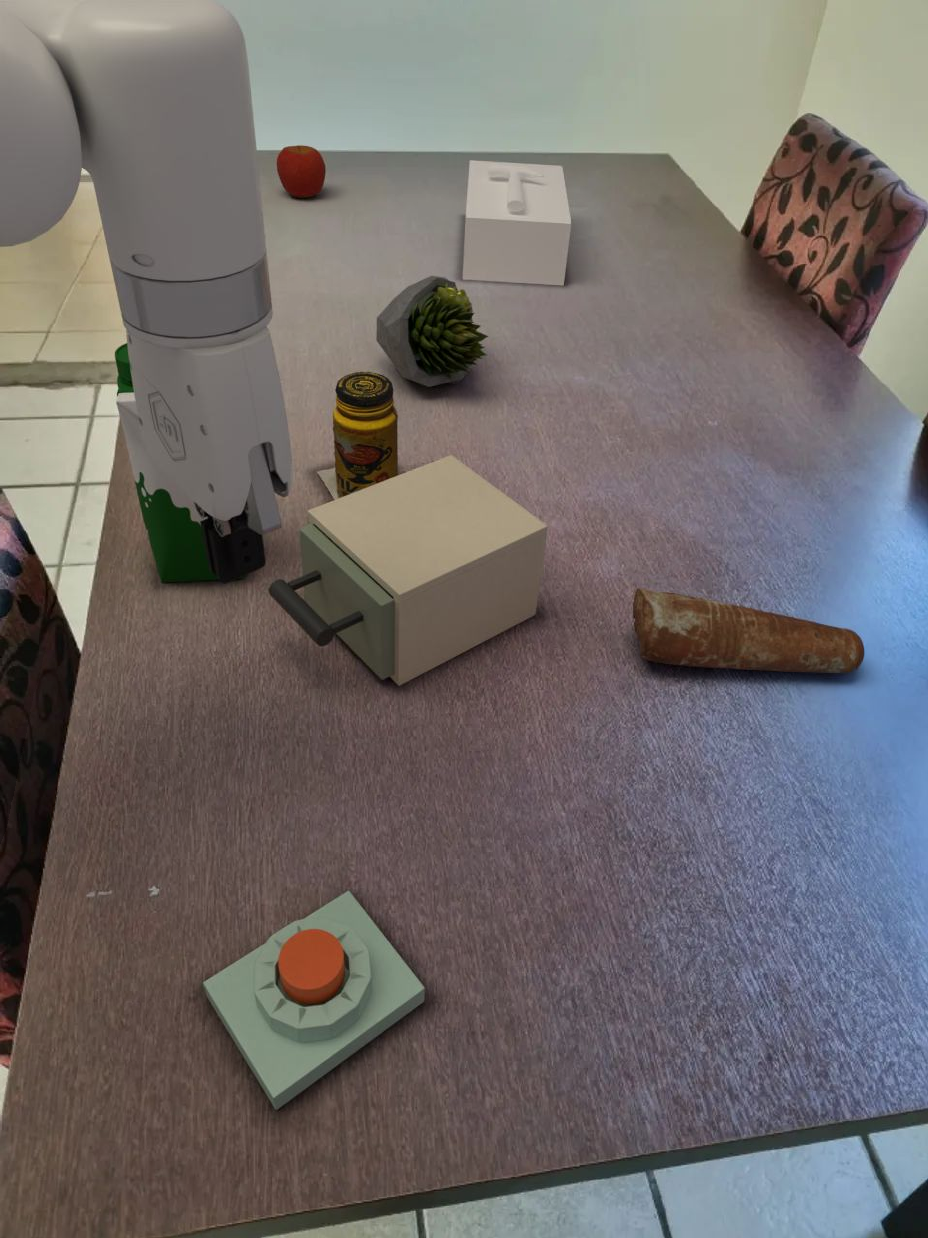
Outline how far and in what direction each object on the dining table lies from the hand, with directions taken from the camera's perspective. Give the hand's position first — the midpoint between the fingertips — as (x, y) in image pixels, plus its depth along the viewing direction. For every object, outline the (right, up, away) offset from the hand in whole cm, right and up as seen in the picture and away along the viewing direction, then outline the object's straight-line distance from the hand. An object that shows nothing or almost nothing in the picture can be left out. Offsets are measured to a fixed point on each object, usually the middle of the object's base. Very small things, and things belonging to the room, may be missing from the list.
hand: (237, 568), depth 60 cm
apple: (-12, +67, +96) cm, 118 cm away
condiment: (+5, +10, +35) cm, 36 cm away
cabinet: (+11, -2, +22) cm, 24 cm away
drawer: (+8, -3, +19) cm, 21 cm away
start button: (+6, -23, -6) cm, 25 cm away
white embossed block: (+22, +53, +83) cm, 101 cm away
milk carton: (-9, +2, +25) cm, 27 cm away
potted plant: (+11, +25, +52) cm, 59 cm away
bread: (+38, -6, +19) cm, 43 cm away
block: (+6, -26, -4) cm, 27 cm away
